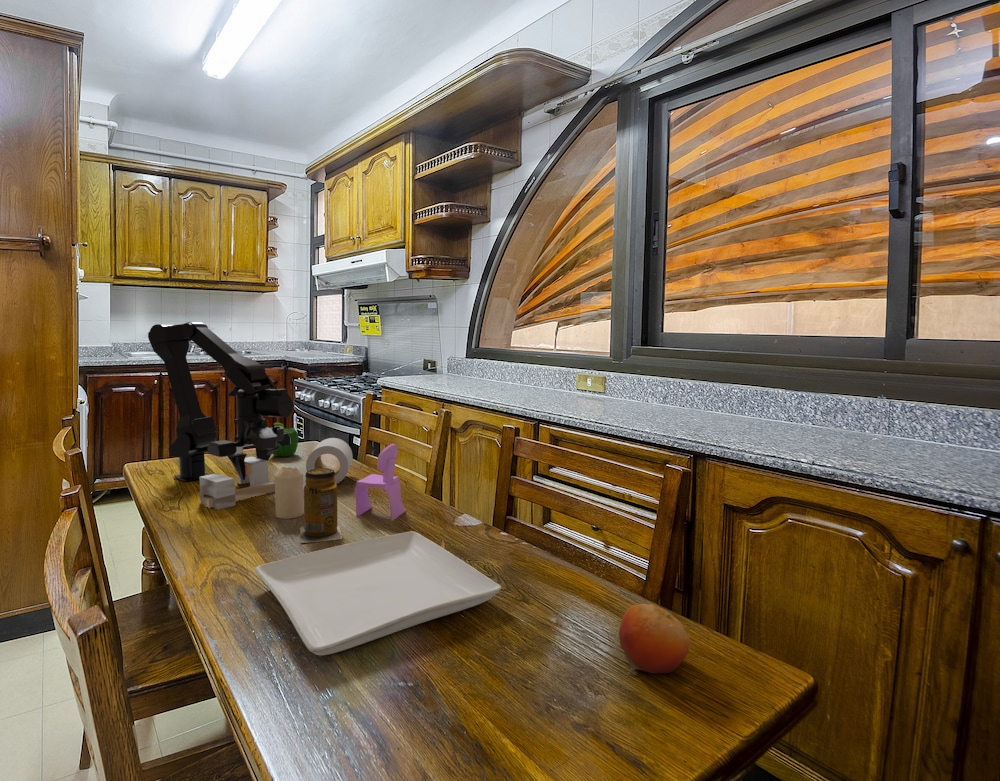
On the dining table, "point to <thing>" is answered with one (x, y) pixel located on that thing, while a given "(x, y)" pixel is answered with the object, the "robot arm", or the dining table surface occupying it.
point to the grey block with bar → (246, 493)
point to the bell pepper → (287, 449)
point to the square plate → (372, 589)
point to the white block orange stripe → (255, 471)
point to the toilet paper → (334, 448)
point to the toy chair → (381, 484)
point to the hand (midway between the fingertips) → (252, 478)
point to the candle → (289, 493)
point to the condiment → (320, 507)
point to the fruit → (652, 639)
